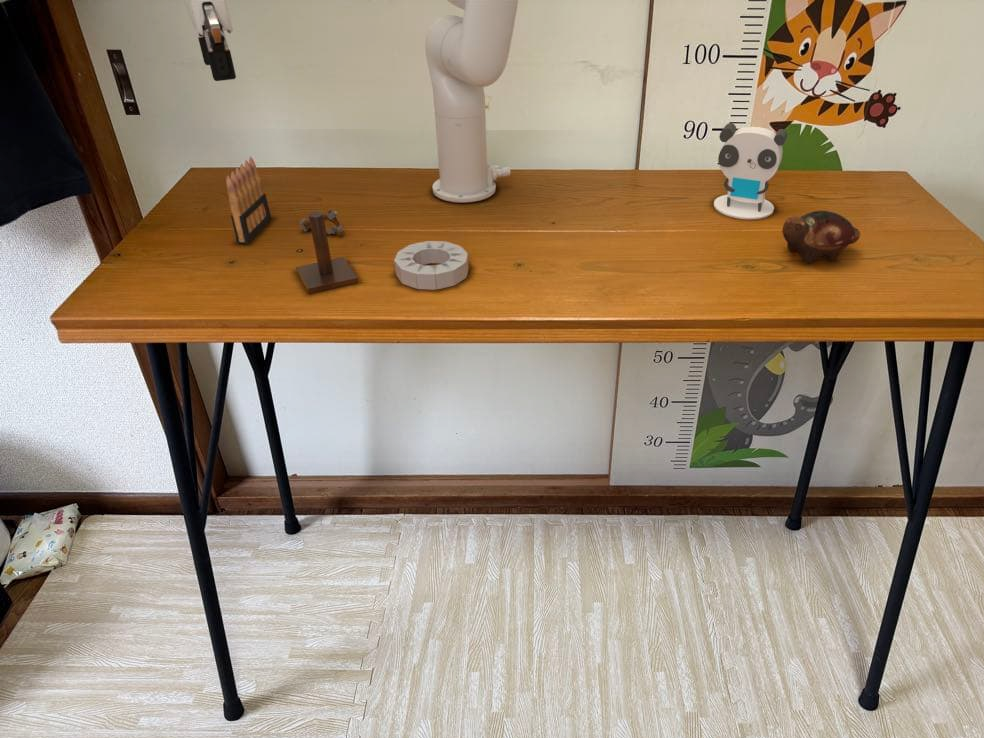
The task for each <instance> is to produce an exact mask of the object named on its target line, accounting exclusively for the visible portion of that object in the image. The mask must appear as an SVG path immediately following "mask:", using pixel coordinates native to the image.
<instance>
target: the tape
mask: <svg viewBox="0 0 984 738" xmlns="http://www.w3.org/2000/svg"><path fill="white" fill-rule="evenodd" d="M393 260H394V268H395V276H396V278H397V279H398V280H399V281H400V282H401V284H403V285H404V286H408V287H410V288H412V289H416V290H428V291H429V290H432V291H433V290H434V291H436V290H440V289H445V288H450V287H453V286H456V285H458V284H459V283H461V282H462V281H464V280H465V279H466V278H468V273H469V269H470V267H469V265H470V264H469V253H468V252H467V251H466V250H465V249H464V248H463V246H461V245H459V244H456V243H452V242H449V241H443V240H437V241H436V240H426V241H420V242H416V243H412V244H409V245H407V246H405V247H404V248H402V249H400V250H399V251H397V253H396V255H395V257H394V259H393ZM429 264H434V265H429Z"/></svg>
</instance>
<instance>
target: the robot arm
mask: <svg viewBox="0 0 984 738" xmlns="http://www.w3.org/2000/svg"><path fill="white" fill-rule="evenodd" d="M184 2H185V6H186V8H187V12H188V14H189V17H190V20H191V23H192V25H193V27H194V29H195V31H196V32H197V33H198V37H197V39H198V44H199V47H200V51H201V55H202V59H203V63H204V64H205V65H206V66H209V68H210V71H211V75H212V79H213V80H214V81H215V82H221V81H230V80H235V79H236V78H237V75H236V70H235V66H234V63H233V62H234V61H233V57H232V53H231V49H230V48H229V45H228V42H227V41H228V40H227V37H226V35H225V31H226V32H227V33H228V34H232V33H233V31H234V29H233V25H232V21H231V17H230V13H229V9H228V5H227V1H226V0H184ZM447 2H449V3H450V4H451V5H453V6H455V7H456V8H459V9H460V10H461V9H462V10H463V11H464V12H463V16H458V15H445V16H441V17H439V18H437V19H436V20H435V21H434V22H433V23H432V24H431V26H430V27H429V29H428V31H427V33H426V36H425V43H424V45H425V57H426V63H427V68H428V71H429V75H430V76H429V77H430V81H431V87H432V95H433V107H434V108H433V109H434V119H435V120H434V121H435V122H434V123H435V131H436V132H435V133H436V148H437V160H438V173H439V178H438V179H437V180H435V181H434V182H433V183H432V194H433V195H434V196H435V197H437V198H438V199H440V200H442V201H446V202H450V203H461V204H462V203H463V204H464V203H465V204H467V203H476V202H480V201H483V200H486V199H488V198H490V197H492V196H493V195H494V194H495V193H496V190H497V184H496V182H495V181H497V179H499V178H507V177H510V176H511V168H510V167H509V166H503V167H500V166H499V164H493V165H488V147H487V146H488V145H487V118H486V116H487V115H486V114H487V113H486V96H485V87H489V86H491V85H493V84H495V83H496V82H497V81H498V80H499V79H500V78H501V76H502V75H503V73H504V71H505V69H506V67H507V63H508V59H509V56H510V55H509V54H510V50H511V46H512V45H511V44H512V40H513V34H514V28H515V22H516V17H517V12H518V11H517V10H518V3H519V0H447Z"/></svg>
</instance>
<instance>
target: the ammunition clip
mask: <svg viewBox="0 0 984 738" xmlns="http://www.w3.org/2000/svg"><path fill="white" fill-rule="evenodd" d="M226 189H227V194H228V202H229V207H230V211H231V215H230V218H231V223H232V228H233V230H234V235H235V239H236V240H235V241H236V243H237V244H245V245H246V244H249V243H250V242H251V241H252V240H253V239H254V238H255V237H256V236H257V235H258V234H259V233H260V232H261V231H262V230H263V229H264V228H265V227H266V225H268V223H269V222H270V221H271V220H272V215H271V211H270V207H269V202H268V199H267V195H266V193H265V192H264V189H263V185H262V180H261V178H260V176H259V173H258V168H257V166H256V162H255V161H254V159H253V157H252V156H249V158H248V160H246V159H245V160H244V165H243V164H242V163H241V164H240V166H239V168H238V167H236V168H235V172H234V170H233V171H231V172H230V176H229V174H228V175H226Z"/></svg>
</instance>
